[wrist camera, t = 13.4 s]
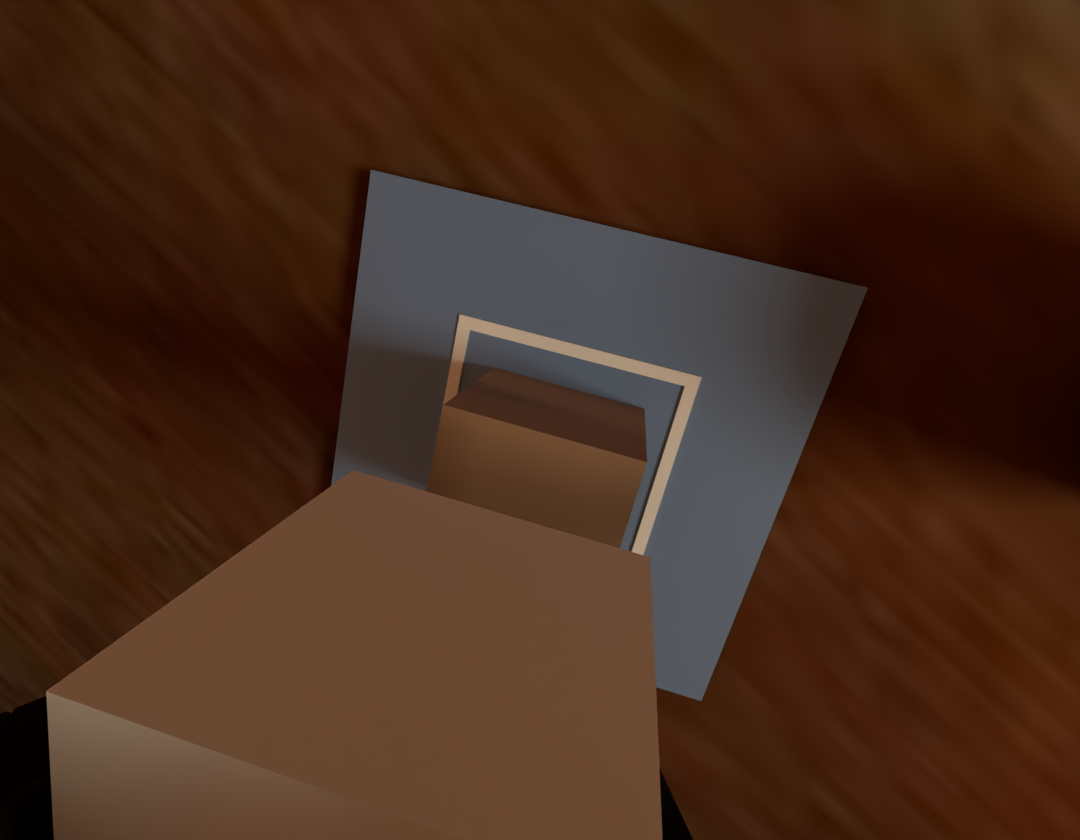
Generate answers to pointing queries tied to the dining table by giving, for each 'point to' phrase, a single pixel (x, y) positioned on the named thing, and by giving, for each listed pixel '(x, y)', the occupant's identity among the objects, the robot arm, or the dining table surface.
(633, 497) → the walnut block
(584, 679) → the cream block
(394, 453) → the board
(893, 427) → the dining table surface
